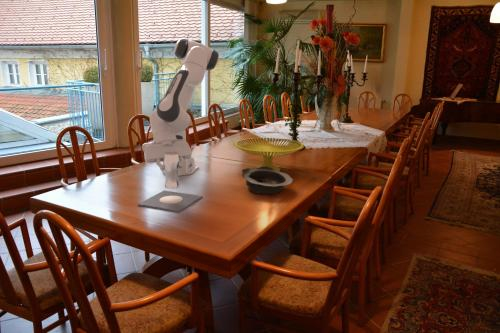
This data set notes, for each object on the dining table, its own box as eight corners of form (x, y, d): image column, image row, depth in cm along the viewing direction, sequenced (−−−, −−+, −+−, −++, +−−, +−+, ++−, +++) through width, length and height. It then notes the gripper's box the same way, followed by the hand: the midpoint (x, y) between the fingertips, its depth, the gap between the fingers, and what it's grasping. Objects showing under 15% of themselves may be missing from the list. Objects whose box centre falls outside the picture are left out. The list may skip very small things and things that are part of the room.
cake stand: (222, 175, 215) (222, 148, 211) (245, 158, 252) (245, 135, 248) (295, 183, 203) (297, 154, 199) (308, 164, 241) (309, 140, 237)
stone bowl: (238, 181, 203) (240, 164, 201) (286, 185, 205) (288, 168, 203) (240, 197, 179) (242, 177, 177) (295, 200, 181) (297, 181, 179)
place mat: (164, 191, 186) (164, 189, 186) (202, 197, 179) (202, 195, 179) (138, 205, 168) (138, 203, 168) (179, 212, 161) (179, 210, 161)
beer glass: (182, 185, 174) (181, 151, 170) (176, 189, 168) (174, 155, 164) (168, 183, 176) (167, 150, 172) (161, 188, 170) (159, 154, 166)
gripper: (141, 139, 168) (148, 167, 162) (188, 135, 177) (195, 162, 171) (140, 147, 173) (146, 174, 167) (185, 143, 182) (192, 169, 176)
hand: (171, 168), depth 169 cm, fingers closed on beer glass, 7 cm apart
